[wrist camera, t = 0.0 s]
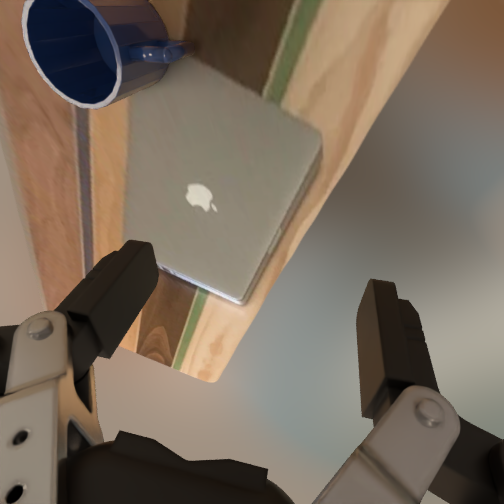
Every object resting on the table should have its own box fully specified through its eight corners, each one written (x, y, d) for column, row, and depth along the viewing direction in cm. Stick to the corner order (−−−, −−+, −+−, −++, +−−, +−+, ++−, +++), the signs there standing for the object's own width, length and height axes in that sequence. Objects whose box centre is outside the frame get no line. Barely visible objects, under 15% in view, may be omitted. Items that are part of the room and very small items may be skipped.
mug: (106, 84, 37) (47, 105, 30) (82, -13, 32) (2, -18, 24) (205, 92, 36) (170, 116, 28) (199, -10, 30) (152, -14, 22)
